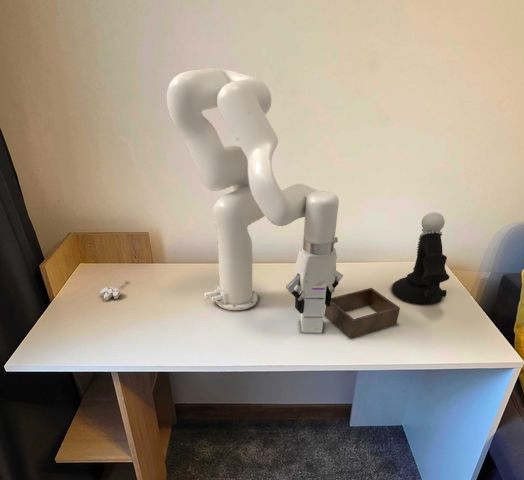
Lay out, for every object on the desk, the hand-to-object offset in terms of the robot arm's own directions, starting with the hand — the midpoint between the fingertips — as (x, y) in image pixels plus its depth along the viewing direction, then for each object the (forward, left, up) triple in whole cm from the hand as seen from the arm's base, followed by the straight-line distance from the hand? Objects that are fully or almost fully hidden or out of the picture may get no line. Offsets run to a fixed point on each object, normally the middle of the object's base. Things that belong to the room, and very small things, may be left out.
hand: (312, 307), depth 121 cm
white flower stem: (-44, +42, -7) cm, 61 cm away
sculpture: (+38, -1, -7) cm, 39 cm away
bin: (+14, -3, -6) cm, 16 cm away
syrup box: (0, 0, -7) cm, 7 cm away
